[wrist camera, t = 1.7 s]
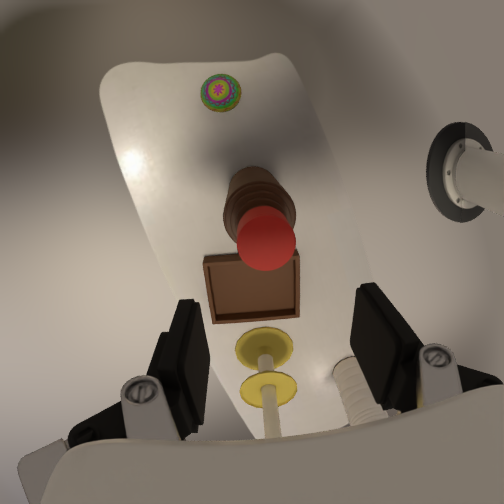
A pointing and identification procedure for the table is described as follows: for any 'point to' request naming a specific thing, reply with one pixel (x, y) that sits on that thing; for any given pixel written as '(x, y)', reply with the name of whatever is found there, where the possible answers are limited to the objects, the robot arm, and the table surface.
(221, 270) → the tray
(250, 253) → the cap
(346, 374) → the white ribbed tube
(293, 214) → the bottle
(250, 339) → the candle
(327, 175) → the table surface
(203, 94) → the egg
